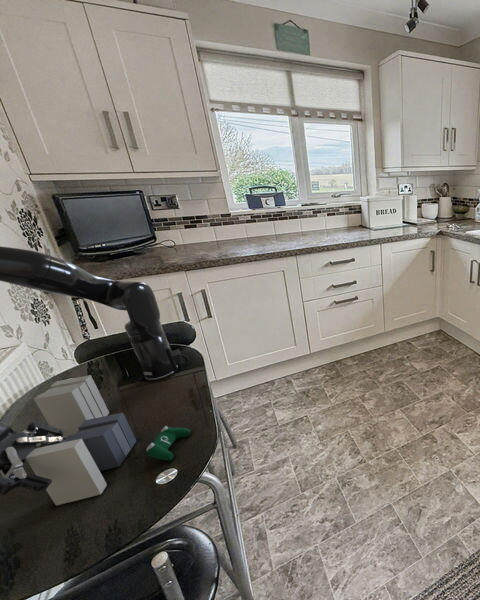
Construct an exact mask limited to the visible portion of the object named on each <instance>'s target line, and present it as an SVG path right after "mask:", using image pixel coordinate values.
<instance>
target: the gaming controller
mask: <svg viewBox="0 0 480 600" xmlns="http://www.w3.org/2000/svg"><path fill="white" fill-rule="evenodd" d="M190 435H191V430H190V429H189V428H186V427H171V426H167V425H165V426H164V427H163V428H162V429H161V430H160V431H159V433H158V434H157V436H156V437H155V438H154V439H153V440H152V441H151V443H150V444H149V445H148V446H147V447H146V449H145V453H146V454H147V455H148V456H149V457H151V458H152V459H155V460H160V461H172V460H174V458H175V455H174V454H173V453H172V451H170V450H169V449H170V448H171V446H172V445H173V443H174V442H175V440H176V439H181V438H186V437H189V436H190Z"/></svg>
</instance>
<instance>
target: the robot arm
mask: <svg viewBox="0 0 480 600" xmlns="http://www.w3.org/2000/svg"><path fill="white" fill-rule="evenodd" d="M0 282H4V283H8V284H12V285H14V286H15V285H16V286H20V287H23V288H27V289H31V290H35V291H39V292H40V291H41V292H44V293H49V294H55V295H59V296H66V297H72V298H79V299H83V300H84V299H85V300H87V301H91V302H94V303H97V304H100V305H104V306H107V307H109V308H111V309H114V310H119V311H125V312H126V313H127V315H128V318H129V321H128V322H126V323H125V324H124V330H125V333H126V335H127V337H128V340H129V342H130V344H131V346H132V349H133V352H134V353H135V356H136V358H137V361H138V363H139V365H140V368H141V371H142V373H143V375H144V378H145V379H146V381H149V382H152V381H159V380H162V379H165V378H168V377H170V376H172V375H174V374H175V373H177V372H179V366H178V363H179V362H182V361H183V360H182V358H184V359H185V365H188V364H189V363H190V358H189V356H188V355H186V354H184V353H181V351H180V349H179V348H178V349H174V350H172V346H171V344H170V342H169V341H168V339H167V338H168V337H167V335H166V333H165V330H164V328H163V325H162V322H161V312H160V308H159V304H158V301H157V299H156V295H155V293H154V291H153V289H152V288H151V286H149V285H148V284H147V283H145V282H142V281H127V280H126V281H124V280H116V279H109V278H106V277H102V276H98V275H95V274H92V273H90V272H88V271H86V270H85V269H83V268H82V267H80V266H78V265H77V264H75V263H72V262H70V261H68V260H65V259H62V258H59V257H56V256H53V255H50V254H47V253H44V252H39V251H36V250H30V249H25V248H19V247H18V248H17V247H9V246H0ZM64 432H65V431H64V430H63V429H59V428H56V427H52V426H49V424H45V423H41V422H38V421H31V422H29V424H28V425H27V426H26V427H25V429H24V430H23V431H15V430H13V429H12V427H11V426H10V425H7V424H3V423H0V474H1V475H0V496H6V495H7V494H8V493H9V492H10V491H12V490H15V489H17V488H22V489H26V490H30V491H34V492H41V491H43V492H44V491H46V489H47V488H48V486H49V485H50V484H51V482H52V480H51V479H47V478H44V477H40V476H36V474H33V473H29V474H28V473H27V472H26V471H25V469H24V463H25V461H27V460H26V457H27V456H28V455H29V454H30V453H31V452H32V451H33V450H34V449H36V448H40V447H45V446H50V445H54V444H59V443H63V442H68V441H65V439H64V438H63V439H62V437H63V434H64Z"/></svg>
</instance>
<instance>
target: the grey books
mask: <svg viewBox="0 0 480 600" xmlns="http://www.w3.org/2000/svg"><path fill="white" fill-rule="evenodd" d="M78 429H79V431H78V432H77V433H76V434H74V435H69V436H68V437H67V438H64V440H65V441H73V440H77V439H82V440H83V442H84V444H85V446H86V447H87V449H88V451H89V453H90V455H91V456H92V458H93V460H94V462H95V464H96V465H97V467H98V469H99V471H100V472H102V471H106V470H110V469H111V470H112V469H114V468H119V467H120V466H121V465H122V463H123V462H124V461H125V459H126V457H127V456H128V454H129V453H130V451H131V450H132V448H133V447H134V445H135V444H136V443H137V439H136V437H135V435H134V433H133V431H132V429H131V427H130V424H129V422H128V420H127V418H126V416H125V413H124V412H119V413H113V414H108V415H107V416H104V417H99V418H94V419H89V420H85V421H84V422H83V423H82V424H81V425H80V426H79V427H78Z"/></svg>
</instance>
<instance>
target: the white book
mask: <svg viewBox="0 0 480 600" xmlns="http://www.w3.org/2000/svg"><path fill="white" fill-rule="evenodd" d="M25 461H26V462H27V463H28V465H29V466H30V468H31V469H32V471H33V473H34V475H36V476H40V477H44V478H47V479H51V480H52V482H51V484H50V485H49V486H48V488H47V489H46V490H45V491H46V492H47V494H48V496H49V497H50V499H51V500H52V502H53V503H54V505H55V506H61V505H64V504H67V503H68V504H69V503H73V502H76V501H80V500H84V499H88V498H92V497H96V496H100V495H102V494H103V492H104V490H105V489H106V487H107V486H108V483H107V481H106V480H105V478H104V476H103V475H102V473H101V471H99V469H98V467H97V465H96V464H95V462H94V460H93V458H92V456H91V455H90V453H89V451H88V449H87V447H86V446H85V444H84V442H83V440H82V439H77V440H73V441H68V442H63V443H59V444H54V445H50V446H45V447H40V448H36V449H34V450H33V451H32V452H31V453H30V454H29V455H28V456H27V457H26V460H25Z"/></svg>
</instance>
